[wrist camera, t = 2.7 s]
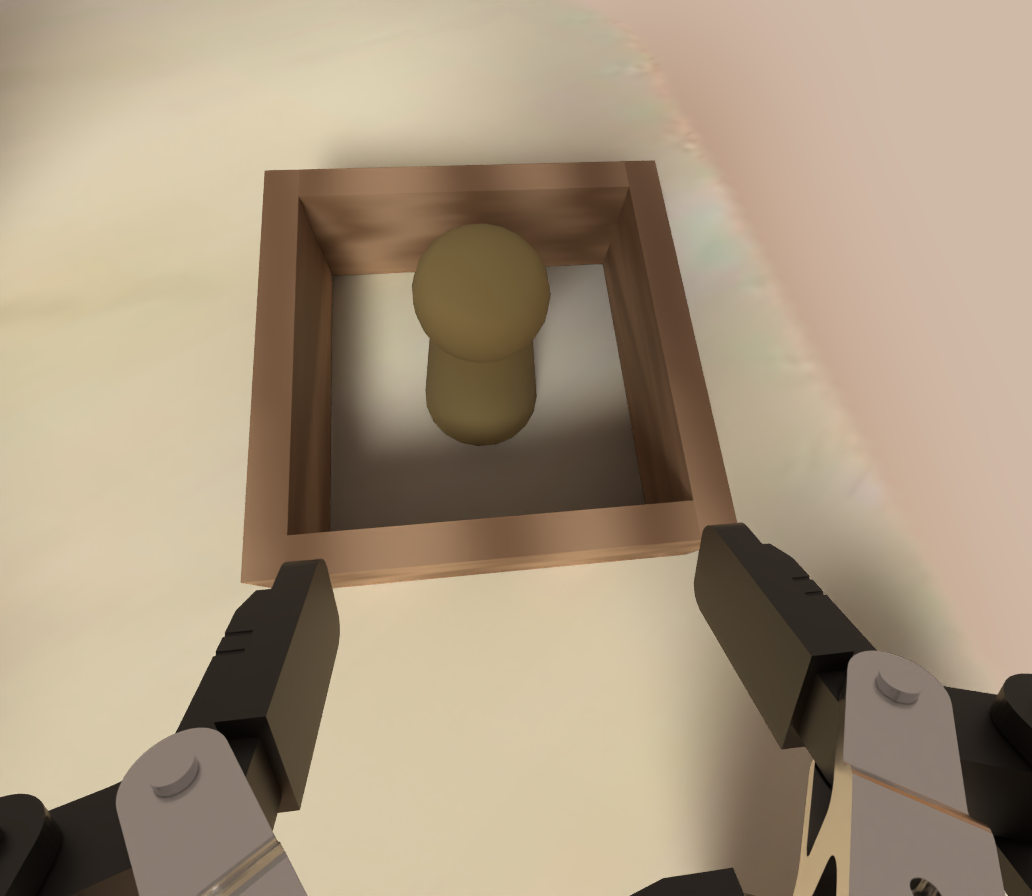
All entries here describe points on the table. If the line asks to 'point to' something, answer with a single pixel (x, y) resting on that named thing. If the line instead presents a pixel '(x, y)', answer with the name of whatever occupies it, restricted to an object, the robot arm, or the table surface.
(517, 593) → the table surface
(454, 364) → the olive pawn
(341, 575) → the walnut crate
